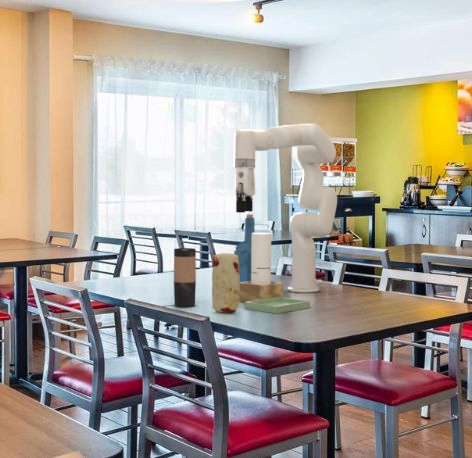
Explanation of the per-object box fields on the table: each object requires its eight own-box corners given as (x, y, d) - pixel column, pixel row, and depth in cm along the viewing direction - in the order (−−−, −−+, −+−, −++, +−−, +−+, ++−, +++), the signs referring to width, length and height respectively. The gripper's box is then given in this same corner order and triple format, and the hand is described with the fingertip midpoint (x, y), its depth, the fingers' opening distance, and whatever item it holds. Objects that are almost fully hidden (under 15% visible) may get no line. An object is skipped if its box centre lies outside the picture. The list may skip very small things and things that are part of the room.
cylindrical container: (268, 303, 281) (269, 234, 279) (249, 302, 282) (249, 233, 281) (272, 300, 288) (273, 233, 286) (253, 299, 289) (254, 232, 288)
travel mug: (199, 304, 277) (199, 248, 275) (190, 308, 269) (190, 250, 268) (179, 303, 279) (179, 247, 278) (170, 306, 272) (170, 249, 271)
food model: (208, 312, 260) (208, 253, 259) (216, 309, 266) (217, 251, 265) (235, 314, 257) (236, 254, 255) (243, 311, 263) (243, 252, 262)
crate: (260, 298, 293) (260, 279, 293) (283, 301, 285) (283, 282, 285) (238, 301, 285) (238, 282, 284) (261, 305, 277) (261, 285, 276)
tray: (279, 302, 282) (279, 296, 282) (310, 307, 272) (310, 301, 272) (244, 308, 270) (244, 301, 270) (275, 313, 260) (275, 306, 260)
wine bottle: (246, 282, 338) (246, 213, 336) (271, 285, 330) (271, 214, 328) (226, 285, 327) (226, 214, 325) (251, 288, 319) (252, 215, 317)
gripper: (248, 163, 271) (247, 213, 272) (260, 164, 288) (260, 211, 289) (227, 163, 273) (227, 212, 274) (241, 164, 290) (241, 210, 291)
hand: (244, 211), depth 282 cm, fingers open, 9 cm apart
